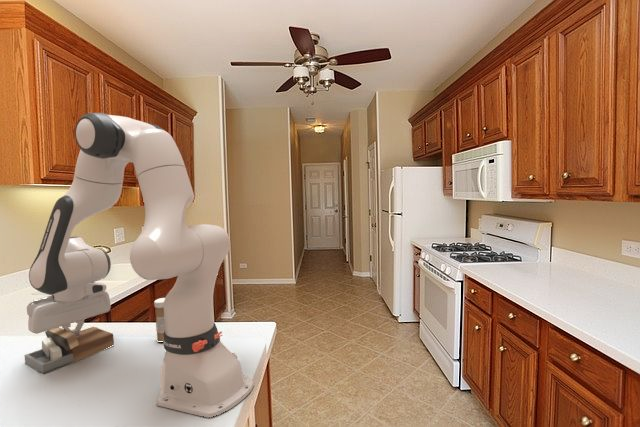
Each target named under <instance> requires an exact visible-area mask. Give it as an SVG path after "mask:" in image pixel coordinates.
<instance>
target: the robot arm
mask: <svg viewBox="0 0 640 427" xmlns="http://www.w3.org/2000/svg"><path fill="white" fill-rule="evenodd" d="M75 124H76V125H75V128H74V138H75V141H76V144H77V146H78V148H79V149H80V150H79V153H78V156H77V159H76V160H77V161H76V164H75V167H74V176H73V180H72V183H71V185H70V187H69V188H68V190H67V192H65V194H64V195H63V196H61V197H59V198H58V199H57V200H56V201H55V203H54V206H53V207H52V209H51V213H50V214H49V219H48V220H47V221H48V222H47V225H46V226H45V227H46V228H45V230H44V234H43V237H42V240H41V243H40V246H39V250H38V252H37V255H36V257H35V258H34V260H33V262H32V264H31V265H30V269H29V272H28V280H29V284H30V285H31V286H32V288H33V289H34V290H36V291H38V292H40V293H41V294H45V295H48V296H45V297H42V298H36V299H33V300H32V301H30V302H29V303H28V304H27V306H26V314H27V315H28V320H27V321H28V322H27V323H28V324H27V326H28V327H27V328H28V331H29V332H31V333H33V334H38V335H39V334H41V333H45V332H46V331H48V330H51V329H54V328H57V327H59V328H62V329H64V330H67V331H69V332H71V333H74V334H76V336H78V335H81V331H82V328H83V326H84V324H85V320H86V319H89V318H93V317H96V316H98V315H103V314H105V313H106V314H107V313H108V312H110V310H111V308H112V307H111V299H110V296H109V293H108V292H107V291H106V290H107V284H105V283H102V282H99V281H101V280H103V279H105V278H107V276H109V275H108V274H109V273H110V271H111V266H112V264H111V261H112V260H111V258H110V255H109V254H108V253H107V252H106V251H105V250H102V249H100V248H95V247H93V246H91V245H89V244H87V243H86V242H85V241H84V239H83V238H82V237H81V236H72V233H73V231H74V230H75V228H76V227H77V226H78V224H81V223H82V222H83V221H84V220H87V219H88V218H90V217H92V216H95V215H98V214H100V213H103V212H104V211H107V210H109V209H111V208H112V207H114V206H115V205H116V204H117V202H118V201H119V199H120V197H121V194H122V191H123V184H124V175H125V169H126V167H127V165H128V164H129V163H133V164H132V165H133V167H134V171H135V175H136V178H137V181H138V185H139V188H140V192H141V196H142V200H143V203H144V204H143V206H144V211H145V217H144V223H143V228H142V230H141V232H140V234H139V235H138V237H137V238H136V239H135V240H134V242H133V243H132V245H131V248H130V252H129V260H130V264H131V267H132V269H133V271H134V272H135V274H137V275H138V277H140V278H141V279H142V280H146V281H154V280H155V281H157V280H159V281H160V280H167V279H172V278H175V277H177V278H176V281H175V283H174V285H173V287H172V288H171V289H170V290H169V291H168V293H167V294H166V295H165V297H164V298H165V300H164V320H165V331H164V337H163V343H162V344H163V348H164V350H165V352H164V358H163V360H162V364H161V370H160V393H159V395H158V396H157V398H156V405H157V406H159V407H162V408H167V409H171V410H174V411H179V412H183V413H186V414H191V415H195V416H200V417H203V416H204V417H205V418H209V417H210V418H213V416H214V417H216V415H217V416H220V415H222V414H223V412H224V413H226V412H227V411H229V410H230V409H232V408H233V407H235V406H236V405H239V403H241V402H242V400H244V399H245V398H247V396H248V395H249V394H250V393H251V392H252V390H253V388H254V381H253V379H250V378H249V377H247V376H246V375H245V374H244V373H243V368H242V365H241V362H240V361H239V360H238V356H237V354H236V353H235V352H231V351H230V350H229V349H228V347H226V346H225V344H224V343H223V342H222V341H221V337H222V336H223V331H219V330H218V328H217V325H216V323H215V321H214V320H215V319H214V318H215V317H214V293H215V285H216V281H217V277H218V274H219V270H220V268H221V265H222V263H223V261H224V259H225V258H226V257H227V256H228V254H229V253H230V250H231V239H230V236H229V234H228V232H227V231H226V229H225V228H223V227H221V226H220V225H215V224H210V223H209V224H208V223H201V224H200V223H199V224H193V225H187V221H186V218H187V217H186V215H187V214H186V213H187V209H188V208H189V207H190V206H192V204H193V202H194V199H195V194H194V190H193V187H192V183H191V180H190V178H189V174H188V172H187V167H186V165H185V161H184V159H183V157H182V154H181V152H180V149H179V148H178V146H177V143H176V142H175V140H174V138H173V136H172V135H171V134H170V133H169V132H167V131H166V130H165V129H163V128H162V127H160V126H159V125H156V124H155V123H149V122H145V121H141V120H137V119H133V118H131V117H128V116H122V115H114V114H113V115H112V114H107V113H103V112H88V113H85V114H83V115H82V116H81V117H80V118H79V119H78V121H77V122H76V123H75ZM74 323H77V324H76V326H75V328H74V329H70V328H71V327H72V325H71V324H74ZM225 411H226V412H225ZM221 413H222V414H221ZM204 417H203V418H204ZM210 418H209V419H210Z"/></svg>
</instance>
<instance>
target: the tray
mask: <svg viewBox="0 0 640 427" xmlns="http://www.w3.org/2000/svg"><path fill="white" fill-rule="evenodd" d="M60 349H61V352H62V357H60V358H58V359H55V360H53V361H50V358H49V359H48V357H47V356H46V354H45V353H44V352H43V350H42V348H41V349H38V350H35V351H33V352H30V353H26V354H24V364H25V365H27V366H28V367H31V368H32V369H34V370H35V371H37V372H39V373H41V374H42V375H45V374H48V373H50V372H53V371H55V370H57V369H60V368H63V367H66V366H68V365H70V364H72V363H75V362H74V361H73V354H72V353H70V352H68V351H66V350H64V349H62V348H60Z"/></svg>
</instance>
